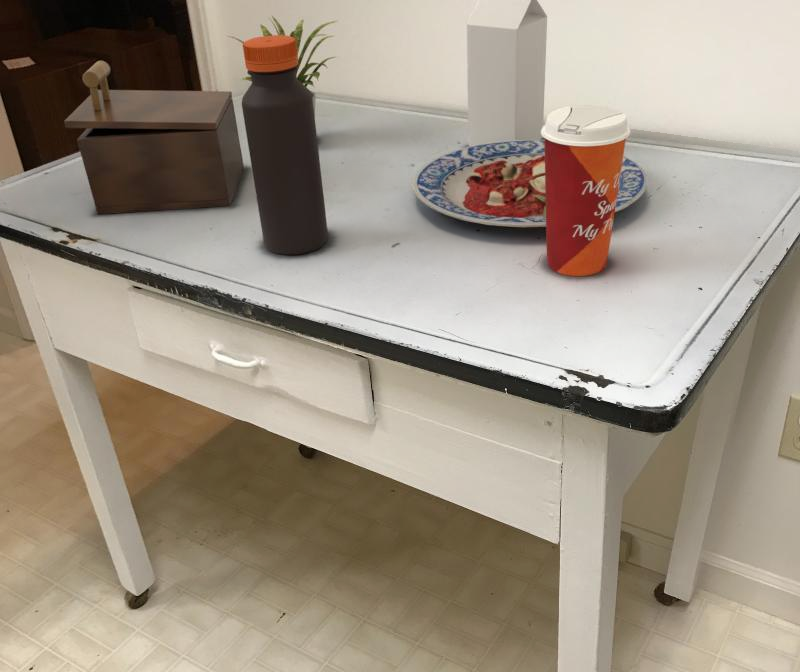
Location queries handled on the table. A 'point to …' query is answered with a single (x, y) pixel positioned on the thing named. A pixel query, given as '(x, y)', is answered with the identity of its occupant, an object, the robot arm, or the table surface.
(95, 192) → the chest
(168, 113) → the lid
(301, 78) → the house plant
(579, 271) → the paper cup
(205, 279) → the table surface
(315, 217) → the bottle
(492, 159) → the ceramic plate
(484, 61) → the milk carton
